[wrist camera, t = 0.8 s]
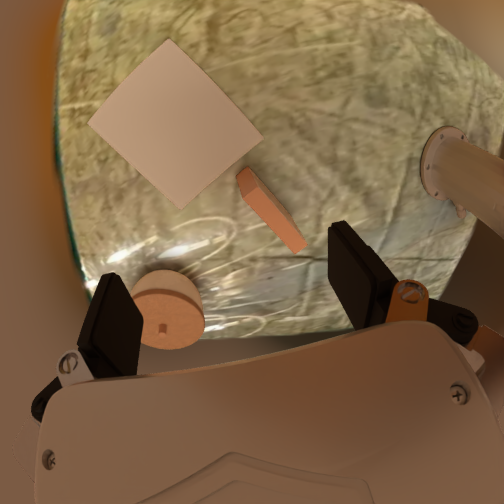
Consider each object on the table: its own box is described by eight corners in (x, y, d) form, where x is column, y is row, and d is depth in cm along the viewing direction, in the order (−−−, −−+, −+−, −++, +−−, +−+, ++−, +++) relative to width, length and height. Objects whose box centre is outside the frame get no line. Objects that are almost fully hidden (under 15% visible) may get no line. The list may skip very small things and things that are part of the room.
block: (291, 216, 35) (308, 244, 30) (280, 224, 36) (294, 254, 30) (247, 165, 31) (257, 186, 25) (235, 175, 31) (242, 198, 26)
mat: (263, 137, 29) (264, 138, 29) (181, 208, 32) (180, 210, 32) (169, 39, 21) (169, 38, 20) (88, 122, 24) (87, 123, 24)
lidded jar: (130, 252, 35) (114, 300, 27) (206, 258, 37) (208, 307, 29) (136, 308, 40) (127, 355, 33) (201, 313, 43) (203, 361, 35)
